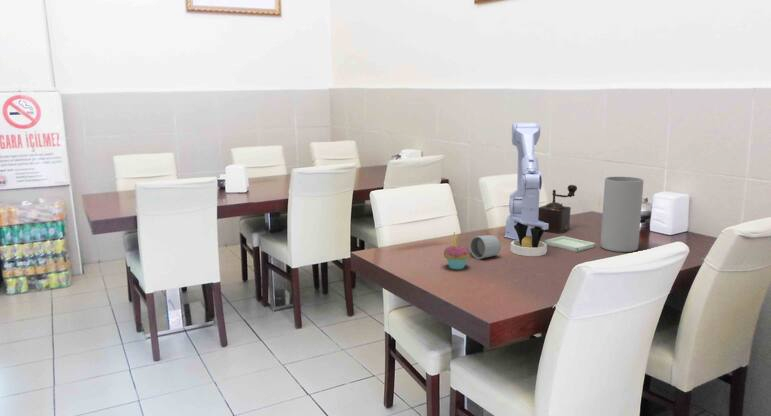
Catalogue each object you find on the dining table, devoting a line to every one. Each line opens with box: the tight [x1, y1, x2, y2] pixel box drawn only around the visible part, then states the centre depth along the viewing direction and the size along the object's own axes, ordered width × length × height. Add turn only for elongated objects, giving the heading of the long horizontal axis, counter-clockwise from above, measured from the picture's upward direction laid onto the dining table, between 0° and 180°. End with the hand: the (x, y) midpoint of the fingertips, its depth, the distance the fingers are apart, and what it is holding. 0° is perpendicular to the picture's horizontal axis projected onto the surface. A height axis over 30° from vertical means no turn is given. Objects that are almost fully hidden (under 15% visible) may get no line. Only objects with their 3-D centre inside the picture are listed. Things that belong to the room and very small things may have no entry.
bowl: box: [509, 239, 548, 257], centre depth 203 cm, size 12×12×3 cm
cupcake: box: [443, 231, 471, 270], centre depth 184 cm, size 9×8×12 cm
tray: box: [543, 235, 596, 253], centre depth 211 cm, size 14×11×2 cm
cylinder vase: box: [600, 176, 644, 253], centre depth 205 cm, size 12×12×25 cm
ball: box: [522, 235, 532, 248], centre depth 203 cm, size 5×5×5 cm
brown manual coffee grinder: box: [538, 184, 578, 235], centre depth 236 cm, size 16×11×18 cm
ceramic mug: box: [468, 234, 502, 260], centre depth 198 cm, size 11×8×8 cm
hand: (528, 245), depth 203 cm, fingers closed on ball, 5 cm apart
